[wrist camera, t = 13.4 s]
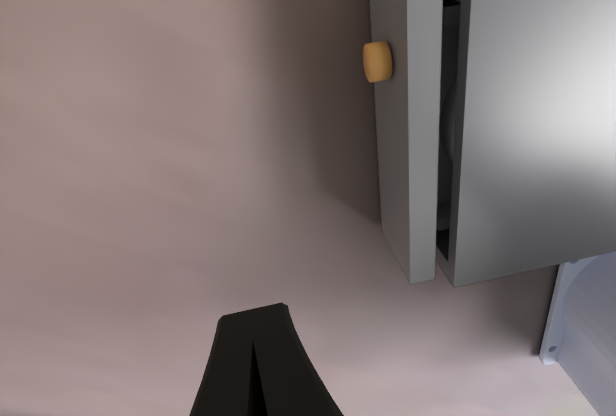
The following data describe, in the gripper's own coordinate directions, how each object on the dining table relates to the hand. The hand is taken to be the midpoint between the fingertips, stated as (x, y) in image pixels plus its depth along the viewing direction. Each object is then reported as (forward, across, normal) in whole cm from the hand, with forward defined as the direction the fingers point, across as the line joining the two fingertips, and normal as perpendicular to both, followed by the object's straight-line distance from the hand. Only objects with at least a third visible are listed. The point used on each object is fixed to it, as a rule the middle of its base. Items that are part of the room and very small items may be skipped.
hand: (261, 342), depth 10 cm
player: (+10, -13, 0) cm, 16 cm away
